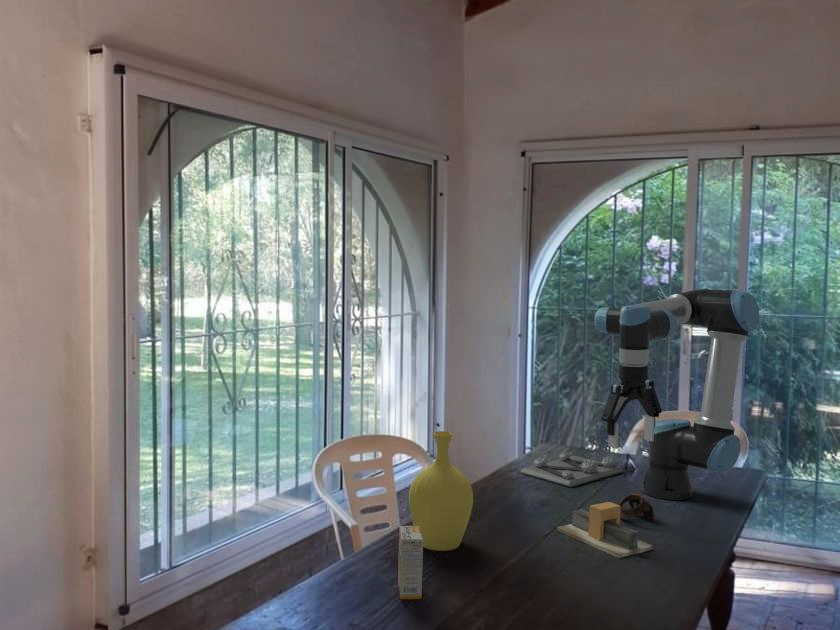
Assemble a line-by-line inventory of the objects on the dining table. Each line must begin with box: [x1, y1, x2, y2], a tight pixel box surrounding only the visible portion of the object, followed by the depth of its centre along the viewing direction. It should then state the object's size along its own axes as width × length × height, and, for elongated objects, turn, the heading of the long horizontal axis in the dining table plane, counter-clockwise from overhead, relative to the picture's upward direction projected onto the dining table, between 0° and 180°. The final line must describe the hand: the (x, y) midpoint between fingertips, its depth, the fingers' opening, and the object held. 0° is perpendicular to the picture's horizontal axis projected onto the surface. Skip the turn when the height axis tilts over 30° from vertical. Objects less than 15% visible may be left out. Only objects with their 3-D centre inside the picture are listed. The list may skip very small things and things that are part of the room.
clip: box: [588, 501, 621, 541], centre depth 208 cm, size 7×4×8 cm, turn 123°
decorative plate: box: [520, 451, 624, 488], centre depth 272 cm, size 30×22×7 cm
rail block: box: [556, 508, 654, 559], centre depth 208 cm, size 12×22×5 cm, turn 33°
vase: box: [408, 430, 474, 552], centre depth 201 cm, size 16×16×28 cm
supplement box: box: [397, 525, 424, 600], centre depth 172 cm, size 8×5×13 cm, turn 5°
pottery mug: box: [618, 492, 656, 523], centre depth 226 cm, size 12×10×8 cm
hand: (631, 443), depth 214 cm, fingers open, 13 cm apart
